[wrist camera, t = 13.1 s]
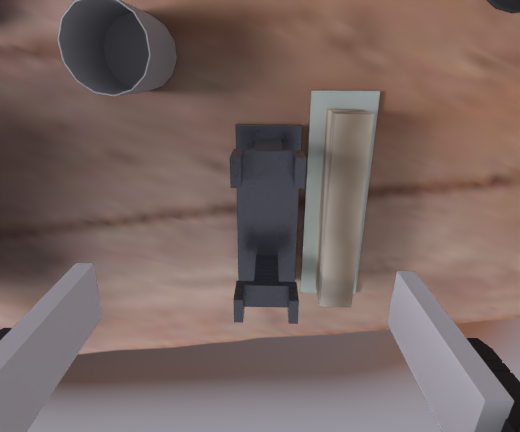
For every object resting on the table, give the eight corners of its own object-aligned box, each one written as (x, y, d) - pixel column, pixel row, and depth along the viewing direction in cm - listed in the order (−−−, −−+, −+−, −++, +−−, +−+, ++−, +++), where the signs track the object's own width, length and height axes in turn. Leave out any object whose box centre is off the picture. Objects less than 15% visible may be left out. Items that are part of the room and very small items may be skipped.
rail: (314, 281, 52) (320, 306, 46) (326, 108, 43) (335, 113, 38) (342, 281, 52) (351, 307, 46) (360, 108, 43) (373, 114, 37)
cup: (189, 43, 41) (166, 34, 32) (156, 104, 44) (125, 113, 35) (124, -5, 40) (79, -28, 31) (93, 62, 43) (43, 59, 33)
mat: (300, 290, 53) (300, 292, 53) (311, 90, 43) (311, 90, 42) (354, 291, 53) (355, 293, 53) (378, 90, 43) (380, 91, 42)
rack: (239, 277, 53) (231, 332, 42) (236, 124, 45) (225, 141, 34) (294, 278, 53) (300, 334, 41) (301, 124, 44) (311, 142, 33)
